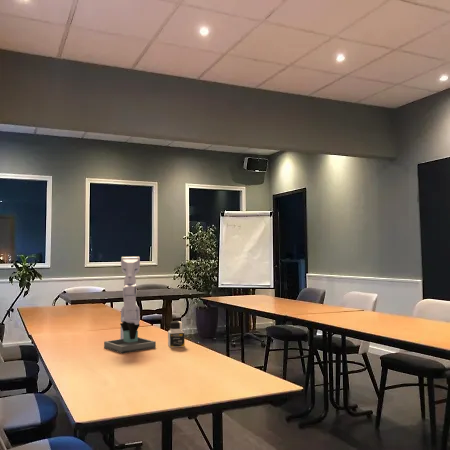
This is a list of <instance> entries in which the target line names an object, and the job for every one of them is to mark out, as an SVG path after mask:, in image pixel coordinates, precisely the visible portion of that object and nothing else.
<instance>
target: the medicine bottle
mask: <svg viewBox="0 0 450 450" xmlns="http://www.w3.org/2000/svg"><path fill="white" fill-rule="evenodd" d="M185 337H186V336H185V332H184V331H183V322H182V321H180V320H174V321H173V320H172V321H170V323H169V330H168V331H167V345H168V347H169V348H170V349H172V348H185V339H186V338H185Z"/></svg>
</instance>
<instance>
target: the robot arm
mask: <svg viewBox="0 0 450 450" xmlns="http://www.w3.org/2000/svg"><path fill="white" fill-rule="evenodd" d="M120 259H121V260H120V265H121V267H120V268H121V272H122V273H123V274H125V276H124V279H123V282H124V283H123V287H122V297H123V306H122V307H121V309H120V310H121V311H120V335H119V336H120V338H119V339H123V334H124V331H127V330H129V332H130V339H135V336H136V332H137V331H138V329H139V327H140V326H141V325H140V321H141V315H140V313H141V311H140V306H138V305H137V304H136V303H137V300H136V299H137V294H138V293H137V290H138V289H137V288H138V287H137V278H136V275H137V274H138V273H140V271H141V269H140V266H141V262H140V261H141V260H140V259H141V258H140V256H121V258H120Z"/></svg>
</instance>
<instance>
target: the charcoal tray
mask: <svg viewBox="0 0 450 450" xmlns="http://www.w3.org/2000/svg"><path fill="white" fill-rule="evenodd" d="M156 347H157V343H156V340H155V341H154V340H150V339H146V338H143V337H139V336H138V341H137V342H130V343H128V342H124V341H123V339H120V338H119V339H114V340H113V339H112V340H111V339H110V340H104V341H103V348H104V349H106V350H110V351H113V352H117V353H119V354H128V353H134V352H140V351H146V350H152V349H157V348H156Z"/></svg>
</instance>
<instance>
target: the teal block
mask: <svg viewBox="0 0 450 450" xmlns="http://www.w3.org/2000/svg"><path fill="white" fill-rule="evenodd" d="M138 337H139V330H137V332H136V336H135V339H130V332H129V330H127V331H124V334H123V341H124V342H128V343H130V342H137V341H138Z"/></svg>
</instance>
